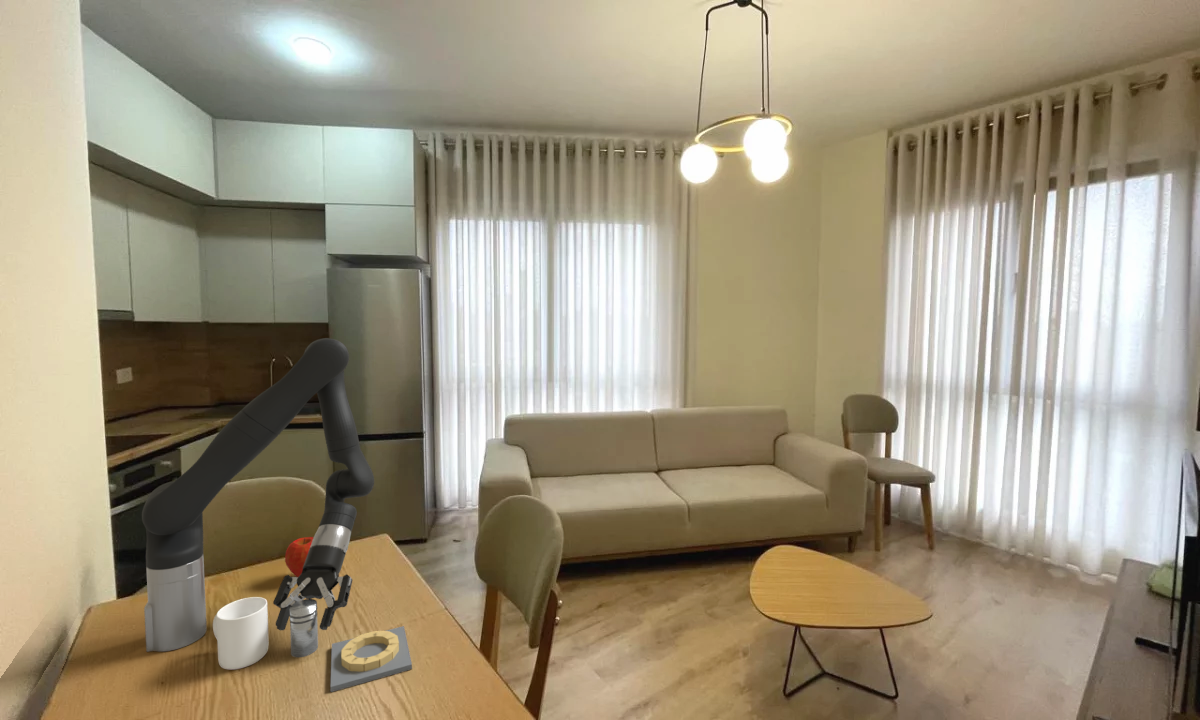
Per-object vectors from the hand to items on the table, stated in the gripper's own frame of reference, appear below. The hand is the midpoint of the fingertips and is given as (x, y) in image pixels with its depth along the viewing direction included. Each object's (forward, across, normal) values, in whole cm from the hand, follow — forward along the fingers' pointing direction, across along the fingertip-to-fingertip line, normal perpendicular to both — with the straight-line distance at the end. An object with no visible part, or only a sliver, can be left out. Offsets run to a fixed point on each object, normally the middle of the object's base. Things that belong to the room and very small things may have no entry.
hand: (301, 629), depth 102 cm
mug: (+4, -13, +3) cm, 14 cm away
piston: (+3, 0, +4) cm, 5 cm away
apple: (-18, -16, +26) cm, 35 cm away
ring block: (+5, +15, +2) cm, 16 cm away
